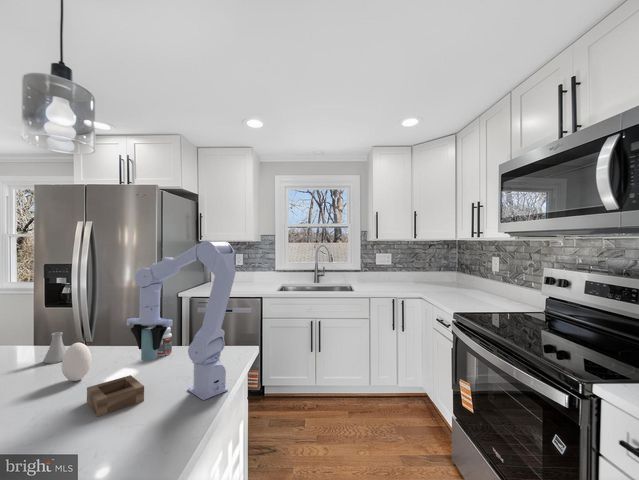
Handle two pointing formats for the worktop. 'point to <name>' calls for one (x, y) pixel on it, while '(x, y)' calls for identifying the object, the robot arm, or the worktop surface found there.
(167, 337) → the pill bottle
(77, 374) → the egg
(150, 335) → the teal peg
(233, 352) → the worktop surface
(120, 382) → the walnut holder
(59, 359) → the flask
